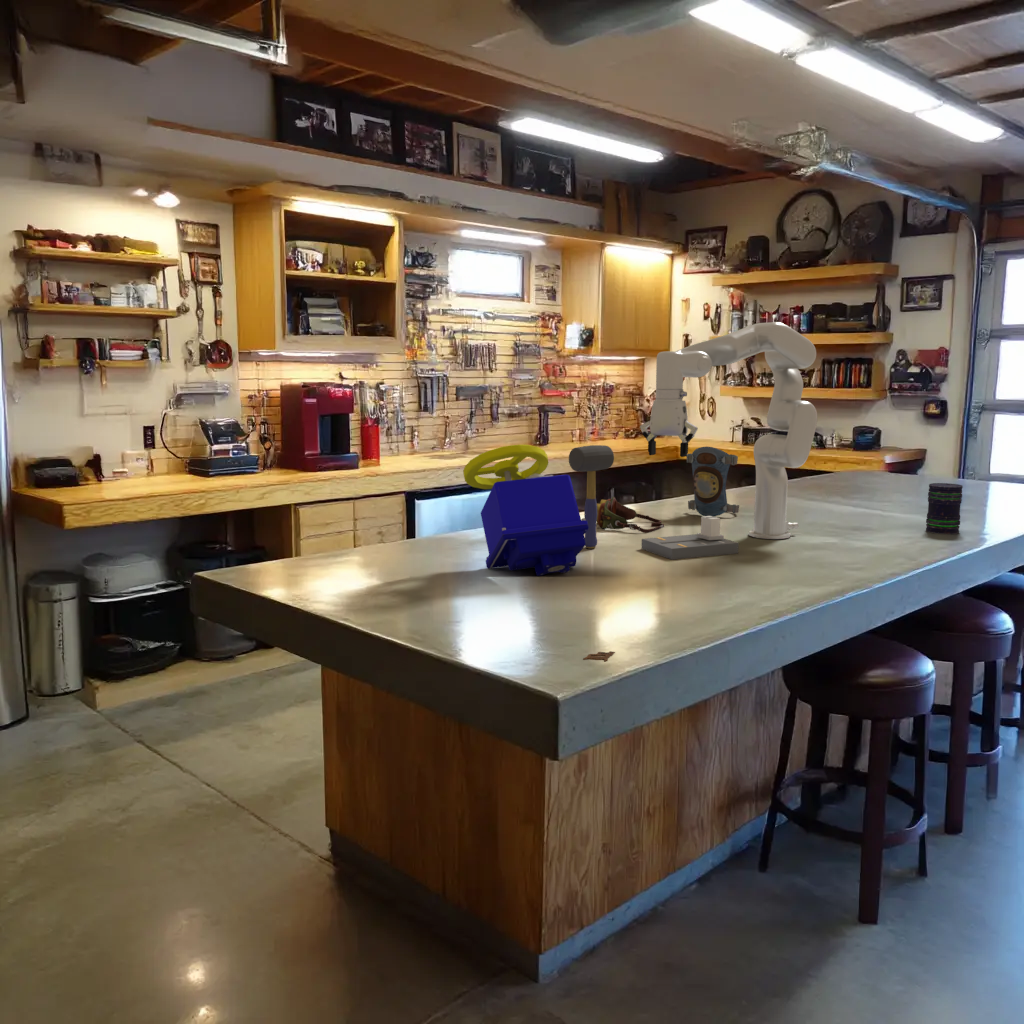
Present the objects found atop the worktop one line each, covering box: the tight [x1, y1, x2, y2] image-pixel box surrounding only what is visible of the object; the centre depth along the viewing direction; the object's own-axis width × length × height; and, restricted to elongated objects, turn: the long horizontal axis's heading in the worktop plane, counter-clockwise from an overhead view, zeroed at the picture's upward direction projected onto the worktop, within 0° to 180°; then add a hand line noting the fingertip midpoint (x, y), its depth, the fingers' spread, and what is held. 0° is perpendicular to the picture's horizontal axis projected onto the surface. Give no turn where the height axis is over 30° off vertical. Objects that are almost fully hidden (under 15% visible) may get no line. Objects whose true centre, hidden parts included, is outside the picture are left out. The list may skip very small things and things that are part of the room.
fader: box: [696, 515, 725, 540], centre depth 258 cm, size 5×6×6 cm
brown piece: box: [582, 651, 616, 662], centre depth 170 cm, size 24×5×1 cm, turn 157°
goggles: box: [596, 496, 665, 534], centre depth 295 cm, size 24×24×10 cm
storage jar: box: [925, 482, 964, 535], centre depth 285 cm, size 10×10×15 cm
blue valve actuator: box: [462, 444, 589, 577], centre depth 228 cm, size 26×27×30 cm
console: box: [641, 533, 739, 560], centre depth 256 cm, size 22×16×3 cm
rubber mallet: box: [568, 444, 615, 550], centre depth 258 cm, size 12×8×30 cm, turn 127°
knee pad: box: [685, 446, 740, 517], centre depth 318 cm, size 18×20×25 cm
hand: (667, 455), depth 256 cm, fingers open, 9 cm apart
